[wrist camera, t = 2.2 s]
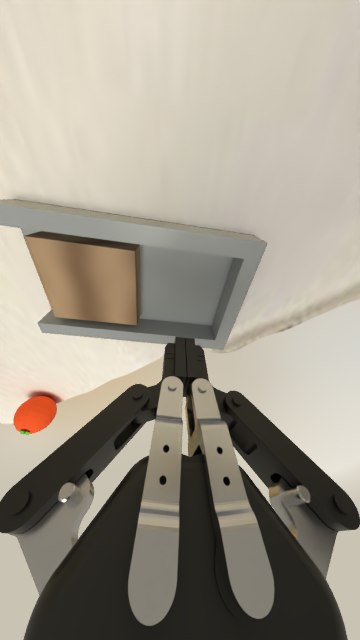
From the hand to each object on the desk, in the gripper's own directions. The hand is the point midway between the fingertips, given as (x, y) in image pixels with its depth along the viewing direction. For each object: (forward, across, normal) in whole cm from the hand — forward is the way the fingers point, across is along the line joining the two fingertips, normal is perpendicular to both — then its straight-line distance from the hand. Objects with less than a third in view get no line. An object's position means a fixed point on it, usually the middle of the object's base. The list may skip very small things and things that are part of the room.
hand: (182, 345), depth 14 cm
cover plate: (+10, +10, 0) cm, 14 cm away
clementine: (+11, +26, +32) cm, 43 cm away
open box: (+10, +5, 0) cm, 12 cm away
